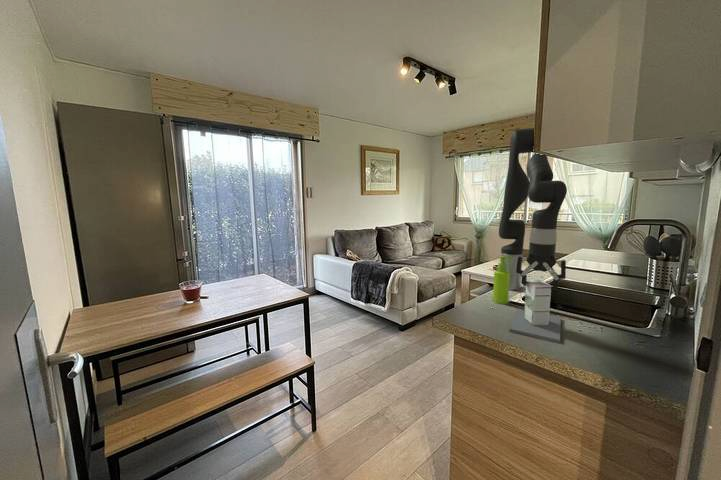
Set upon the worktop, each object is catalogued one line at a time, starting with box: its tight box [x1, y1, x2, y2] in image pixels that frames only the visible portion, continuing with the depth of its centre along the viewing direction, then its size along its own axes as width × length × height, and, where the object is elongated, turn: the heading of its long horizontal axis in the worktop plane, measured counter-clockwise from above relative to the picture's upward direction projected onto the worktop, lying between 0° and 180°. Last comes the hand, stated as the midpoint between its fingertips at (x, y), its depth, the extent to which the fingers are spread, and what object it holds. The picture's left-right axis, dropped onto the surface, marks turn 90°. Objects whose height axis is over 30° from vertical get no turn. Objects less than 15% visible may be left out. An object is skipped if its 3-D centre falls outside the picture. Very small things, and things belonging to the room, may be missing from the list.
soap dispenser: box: [492, 255, 513, 305], centre depth 121 cm, size 6×7×20 cm
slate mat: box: [509, 308, 562, 344], centre depth 100 cm, size 20×14×1 cm
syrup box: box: [524, 279, 552, 325], centre depth 100 cm, size 6×6×14 cm
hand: (538, 287), depth 98 cm, fingers open, 8 cm apart
